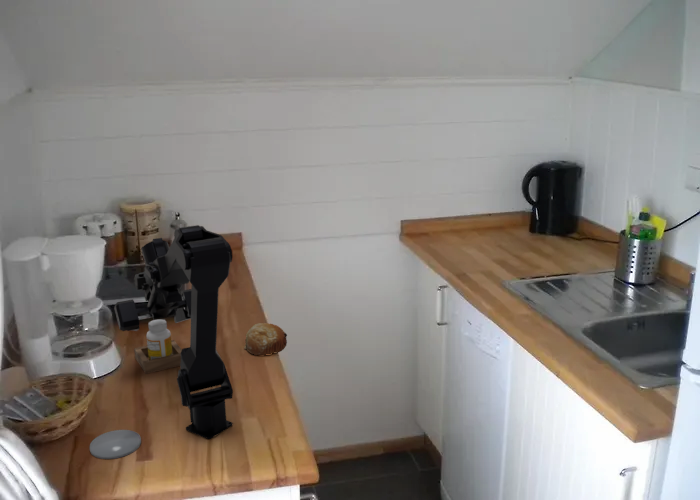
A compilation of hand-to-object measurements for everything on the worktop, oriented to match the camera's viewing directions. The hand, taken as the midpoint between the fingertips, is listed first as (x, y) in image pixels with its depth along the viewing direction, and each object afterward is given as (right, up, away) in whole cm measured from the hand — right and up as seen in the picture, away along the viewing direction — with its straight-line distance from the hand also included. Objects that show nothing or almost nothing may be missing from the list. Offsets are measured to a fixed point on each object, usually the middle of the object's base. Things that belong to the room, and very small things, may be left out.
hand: (155, 324), depth 167 cm
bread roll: (+24, -7, +8) cm, 27 cm away
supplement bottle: (+1, -9, +1) cm, 9 cm away
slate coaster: (+1, -19, -33) cm, 38 cm away
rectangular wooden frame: (+1, -8, +1) cm, 9 cm away
